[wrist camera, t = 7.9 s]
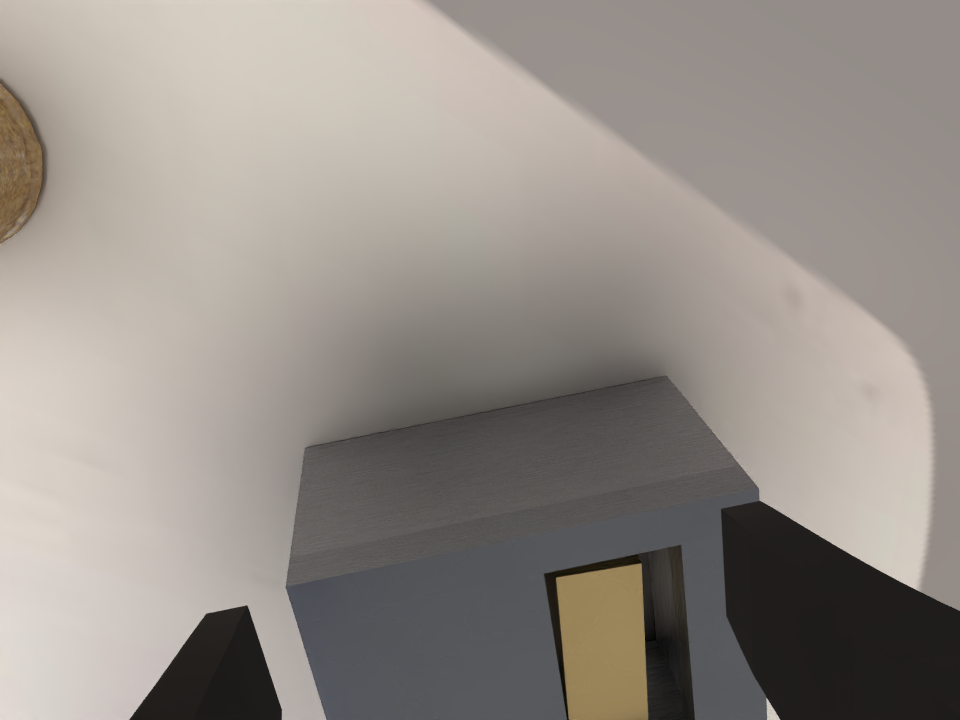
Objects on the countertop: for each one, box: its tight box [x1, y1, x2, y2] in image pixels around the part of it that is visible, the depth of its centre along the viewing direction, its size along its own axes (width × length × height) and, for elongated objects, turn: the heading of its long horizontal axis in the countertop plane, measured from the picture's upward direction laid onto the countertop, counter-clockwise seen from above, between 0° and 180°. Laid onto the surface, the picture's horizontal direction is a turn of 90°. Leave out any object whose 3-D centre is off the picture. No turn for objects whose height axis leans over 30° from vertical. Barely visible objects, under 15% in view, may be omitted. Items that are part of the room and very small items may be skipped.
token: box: [544, 554, 648, 720], centre depth 23 cm, size 5×2×5 cm, turn 6°
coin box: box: [286, 376, 767, 720], centre depth 22 cm, size 10×10×6 cm
